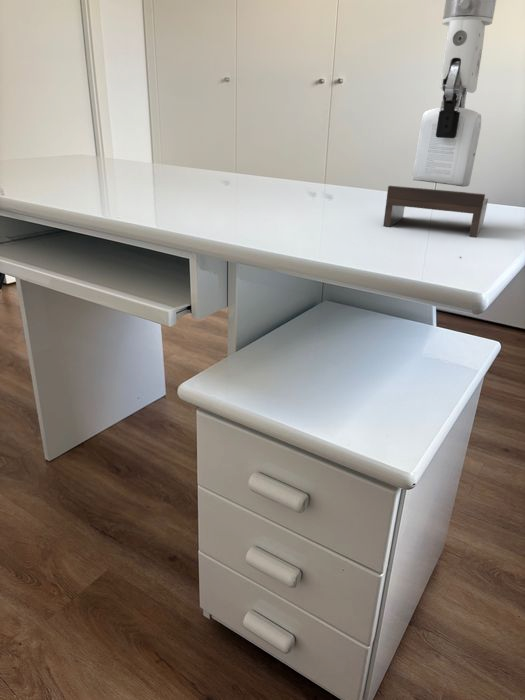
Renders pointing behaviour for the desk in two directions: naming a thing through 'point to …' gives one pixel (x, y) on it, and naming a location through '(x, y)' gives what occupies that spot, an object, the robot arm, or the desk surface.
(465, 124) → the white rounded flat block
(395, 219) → the shelf
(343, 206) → the desk surface
